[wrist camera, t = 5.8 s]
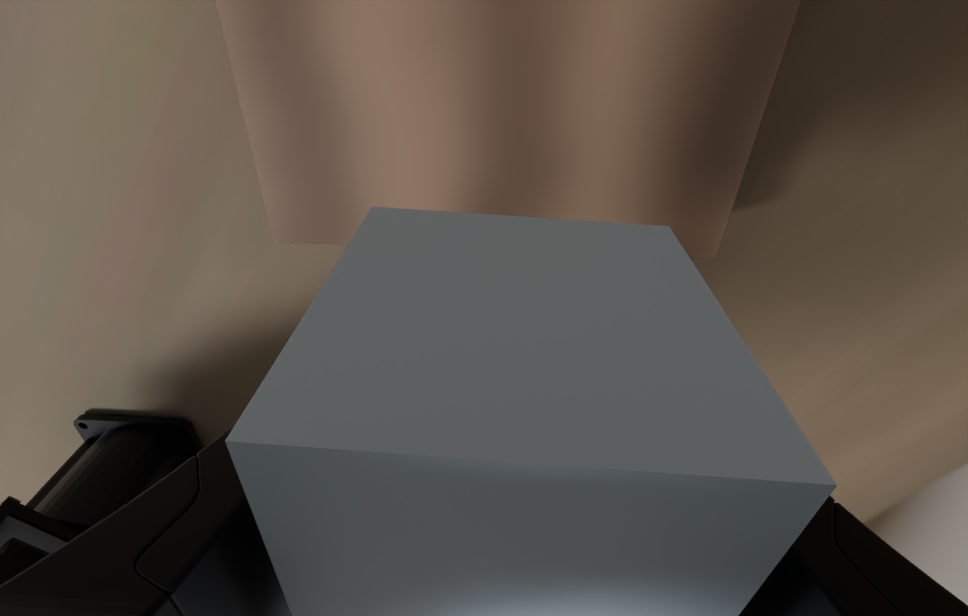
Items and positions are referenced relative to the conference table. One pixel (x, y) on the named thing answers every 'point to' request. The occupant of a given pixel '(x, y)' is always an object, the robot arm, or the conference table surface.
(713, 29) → the walnut base
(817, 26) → the conference table surface
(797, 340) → the conference table surface
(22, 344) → the conference table surface
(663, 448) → the slate cube
